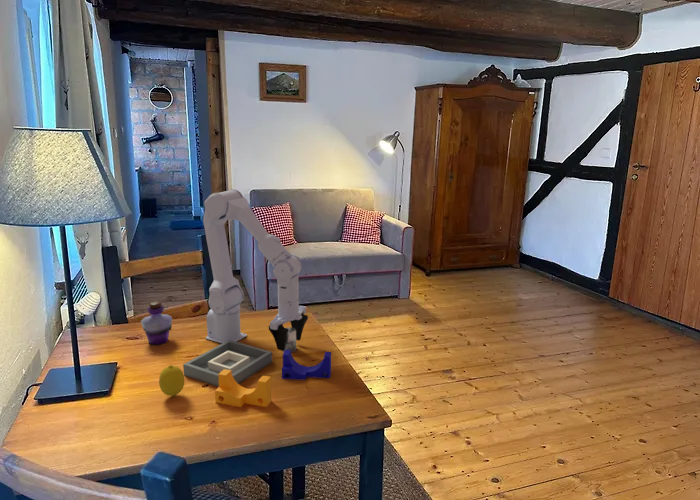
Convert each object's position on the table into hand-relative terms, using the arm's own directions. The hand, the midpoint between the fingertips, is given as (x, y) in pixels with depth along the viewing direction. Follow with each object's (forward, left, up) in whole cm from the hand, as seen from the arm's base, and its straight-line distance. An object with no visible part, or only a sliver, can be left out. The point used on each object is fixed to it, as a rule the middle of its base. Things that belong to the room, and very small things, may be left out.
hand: (289, 344), depth 142 cm
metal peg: (0, 0, -2) cm, 2 cm away
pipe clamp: (+7, -28, -2) cm, 28 cm away
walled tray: (-7, -17, -2) cm, 18 cm away
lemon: (-9, -34, -2) cm, 35 cm away
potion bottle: (-36, -15, -2) cm, 39 cm away
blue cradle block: (+12, -10, -2) cm, 16 cm away
